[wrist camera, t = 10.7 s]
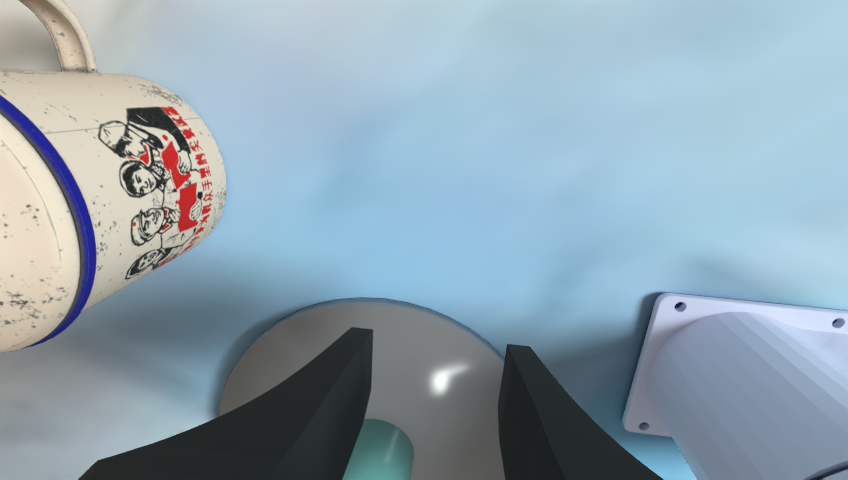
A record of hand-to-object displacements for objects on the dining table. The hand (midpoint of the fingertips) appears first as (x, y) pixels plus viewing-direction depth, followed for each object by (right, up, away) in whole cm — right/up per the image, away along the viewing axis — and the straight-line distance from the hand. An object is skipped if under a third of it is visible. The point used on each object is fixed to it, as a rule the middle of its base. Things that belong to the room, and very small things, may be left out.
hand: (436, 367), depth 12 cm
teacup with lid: (-14, +8, +9) cm, 18 cm away
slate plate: (-3, -8, +13) cm, 16 cm away
